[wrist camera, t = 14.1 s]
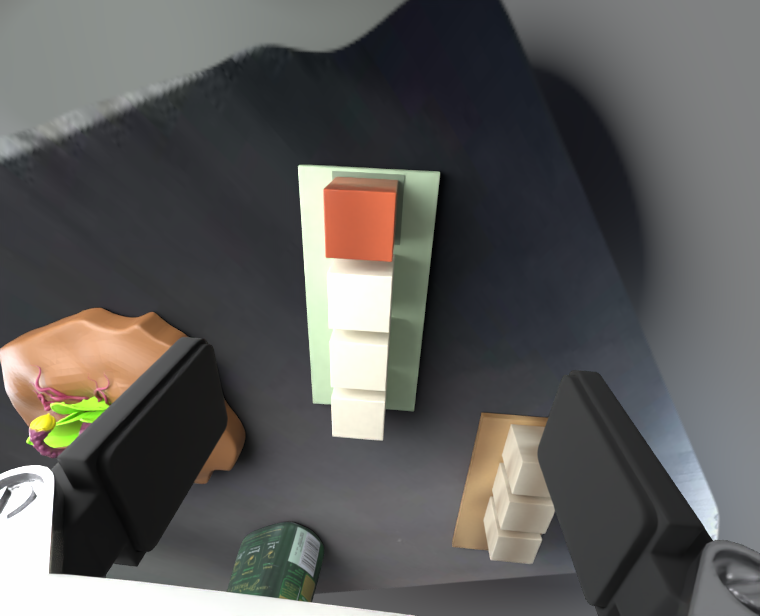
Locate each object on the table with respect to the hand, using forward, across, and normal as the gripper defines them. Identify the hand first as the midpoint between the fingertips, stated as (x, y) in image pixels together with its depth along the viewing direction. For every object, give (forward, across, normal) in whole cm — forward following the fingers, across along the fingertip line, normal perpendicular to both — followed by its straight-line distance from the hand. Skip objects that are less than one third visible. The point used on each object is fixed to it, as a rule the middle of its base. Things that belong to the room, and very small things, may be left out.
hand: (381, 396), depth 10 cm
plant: (+17, +24, +19) cm, 35 cm away
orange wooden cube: (+17, +2, -1) cm, 17 cm away
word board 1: (+18, +2, +7) cm, 19 cm away
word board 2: (+18, -13, +27) cm, 34 cm away
